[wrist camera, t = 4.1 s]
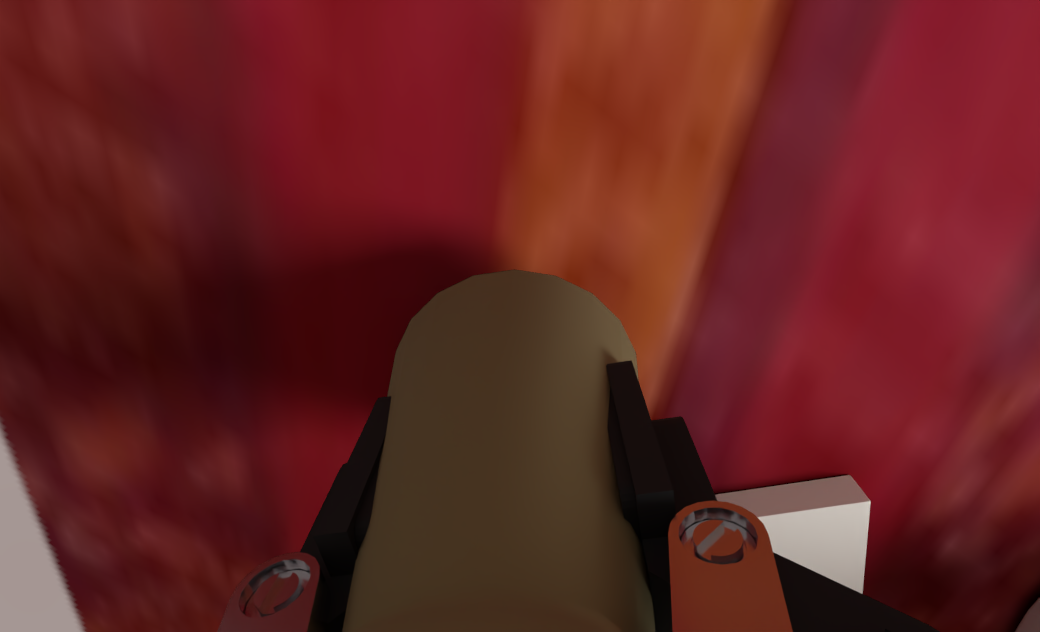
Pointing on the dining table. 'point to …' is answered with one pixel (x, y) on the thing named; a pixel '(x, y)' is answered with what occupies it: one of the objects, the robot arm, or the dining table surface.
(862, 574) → the socket plate
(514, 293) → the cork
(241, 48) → the dining table surface
